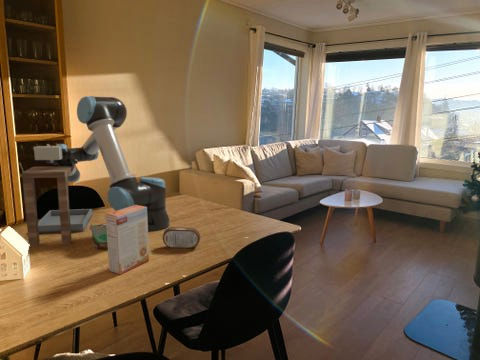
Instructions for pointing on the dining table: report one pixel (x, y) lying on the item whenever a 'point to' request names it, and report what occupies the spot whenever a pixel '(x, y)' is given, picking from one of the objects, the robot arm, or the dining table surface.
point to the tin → (181, 237)
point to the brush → (48, 152)
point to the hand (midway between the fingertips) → (52, 146)
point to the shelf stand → (30, 200)
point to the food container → (99, 236)
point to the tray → (77, 221)
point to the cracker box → (127, 238)
